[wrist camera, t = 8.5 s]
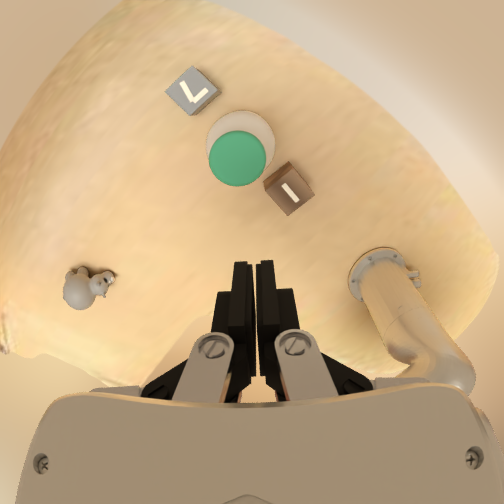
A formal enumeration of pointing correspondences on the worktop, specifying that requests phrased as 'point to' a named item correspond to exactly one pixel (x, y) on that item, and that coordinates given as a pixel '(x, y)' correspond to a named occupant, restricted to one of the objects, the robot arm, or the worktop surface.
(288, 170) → the walnut block
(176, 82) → the slate grey block
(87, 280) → the chubby cartoon animal
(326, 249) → the worktop surface
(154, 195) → the worktop surface
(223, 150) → the milk bottle
